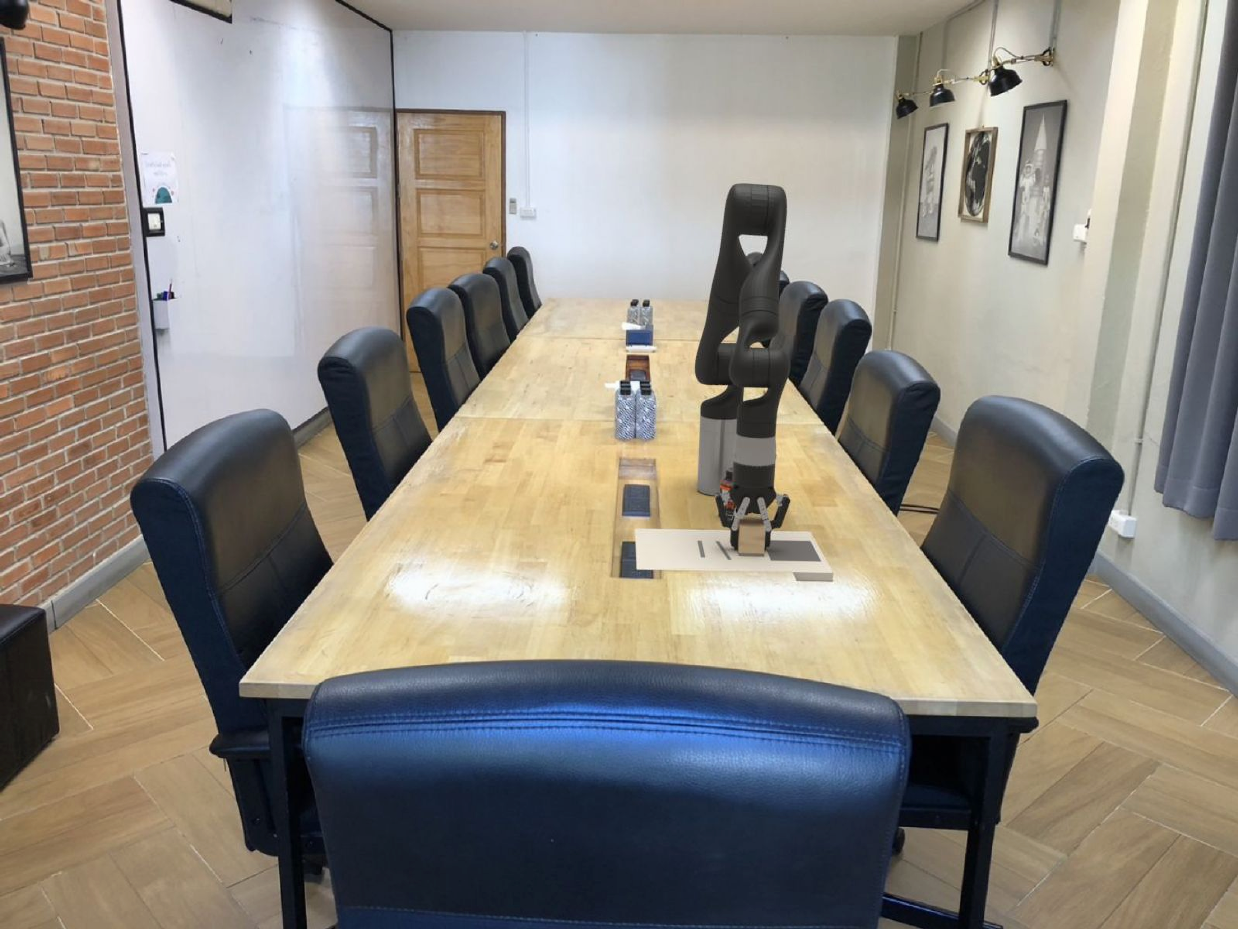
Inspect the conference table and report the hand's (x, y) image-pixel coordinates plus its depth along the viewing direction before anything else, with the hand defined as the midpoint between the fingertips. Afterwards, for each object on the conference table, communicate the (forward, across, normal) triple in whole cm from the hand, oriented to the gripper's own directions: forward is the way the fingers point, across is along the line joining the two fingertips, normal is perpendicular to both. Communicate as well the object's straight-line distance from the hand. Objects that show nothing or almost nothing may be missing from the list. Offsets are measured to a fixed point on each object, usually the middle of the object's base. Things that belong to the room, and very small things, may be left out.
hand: (749, 548), depth 187 cm
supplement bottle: (+2, +1, -20) cm, 20 cm away
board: (+2, +4, 0) cm, 4 cm away
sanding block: (0, 0, 0) cm, 0 cm away
